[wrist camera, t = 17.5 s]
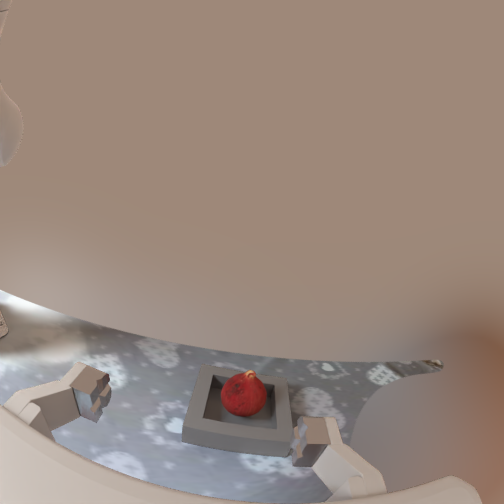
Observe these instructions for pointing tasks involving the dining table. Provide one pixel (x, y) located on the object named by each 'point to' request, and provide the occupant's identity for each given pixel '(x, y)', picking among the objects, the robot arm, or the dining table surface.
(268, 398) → the holder
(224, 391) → the red round fruit
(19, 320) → the dining table surface
